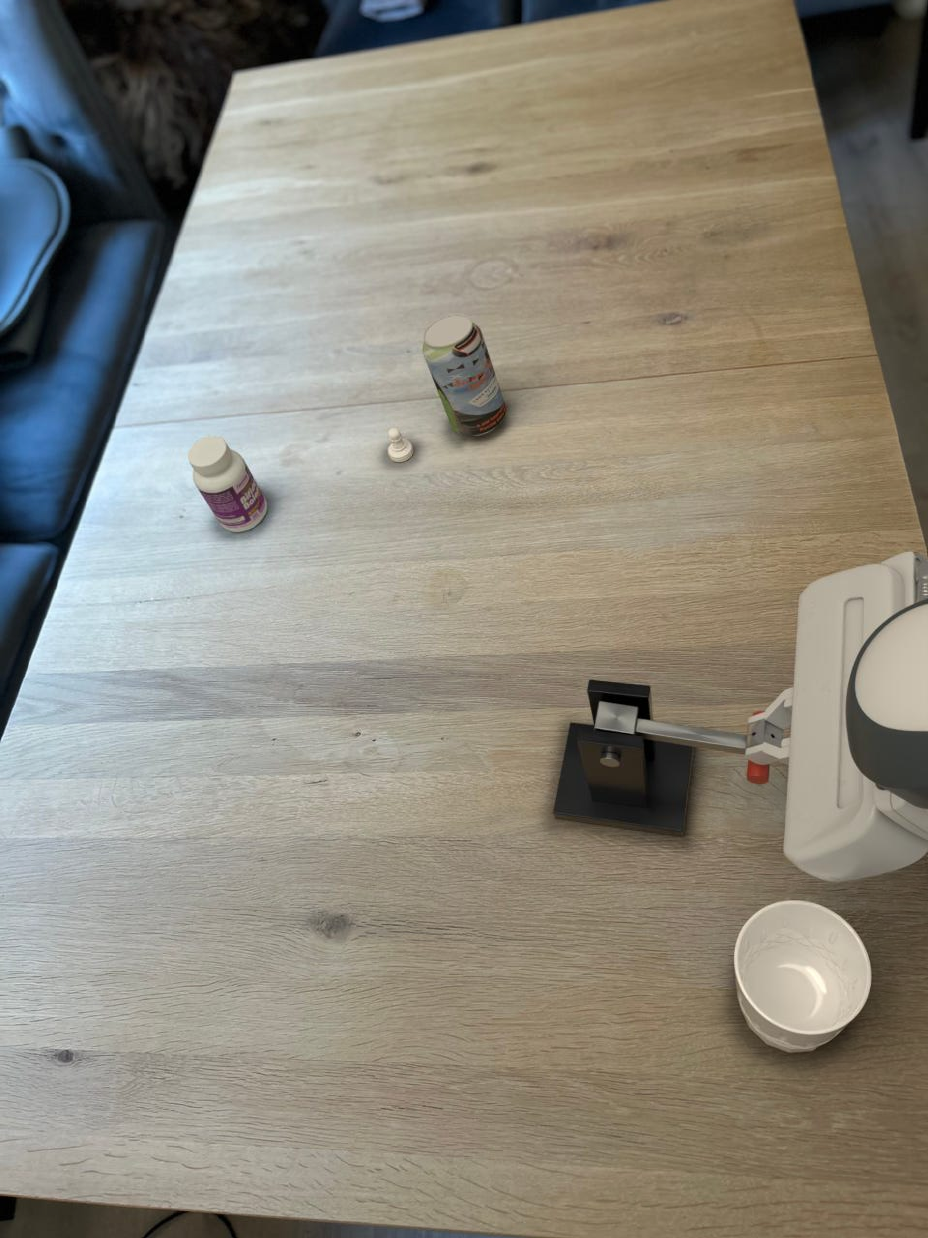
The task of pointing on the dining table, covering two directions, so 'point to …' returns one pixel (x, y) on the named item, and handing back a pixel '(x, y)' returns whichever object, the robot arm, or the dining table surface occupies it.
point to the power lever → (676, 734)
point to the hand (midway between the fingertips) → (752, 742)
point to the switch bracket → (623, 771)
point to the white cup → (800, 974)
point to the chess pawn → (399, 446)
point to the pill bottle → (226, 484)
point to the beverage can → (464, 375)
